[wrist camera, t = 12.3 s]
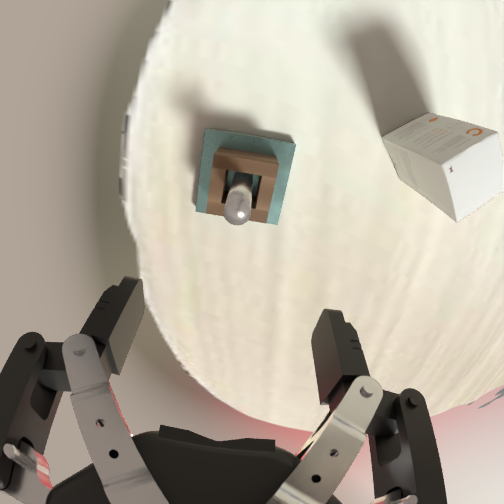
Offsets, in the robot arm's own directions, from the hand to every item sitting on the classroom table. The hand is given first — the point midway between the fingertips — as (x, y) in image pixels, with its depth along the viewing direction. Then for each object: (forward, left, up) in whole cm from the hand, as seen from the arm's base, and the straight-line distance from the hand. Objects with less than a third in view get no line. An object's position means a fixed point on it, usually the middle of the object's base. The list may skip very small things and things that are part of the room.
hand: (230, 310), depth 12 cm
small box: (-8, +20, -23) cm, 32 cm away
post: (+1, 0, -23) cm, 23 cm away
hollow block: (+1, 0, -22) cm, 22 cm away
